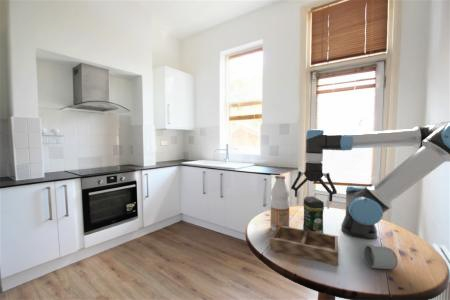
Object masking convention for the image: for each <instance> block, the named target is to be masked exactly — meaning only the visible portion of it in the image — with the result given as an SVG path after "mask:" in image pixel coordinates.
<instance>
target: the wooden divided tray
mask: <svg viewBox="0 0 450 300" xmlns="http://www.w3.org/2000/svg"><path fill="white" fill-rule="evenodd" d="M269 250H270V251H273V252H276V253H282V254H285V255H286V254H287V255H291V256H294V257H295V256H296V257H300V258H303V259H307V260H310V261H311V260H312V261H315V262H319V263H320V262H321V263H323V264H329V265H332V266H336V267H338V266H339V236H338V235H334V234H331V233H329V234H328V233H324V232H323V233H319V232H314V231H308V230H303V228H298V227H290V226H289V227H286V226H280V225H279V226H278V227H277V229H276V230H275V231H273V233H272V235H271V236H270V238H269Z"/></svg>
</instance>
